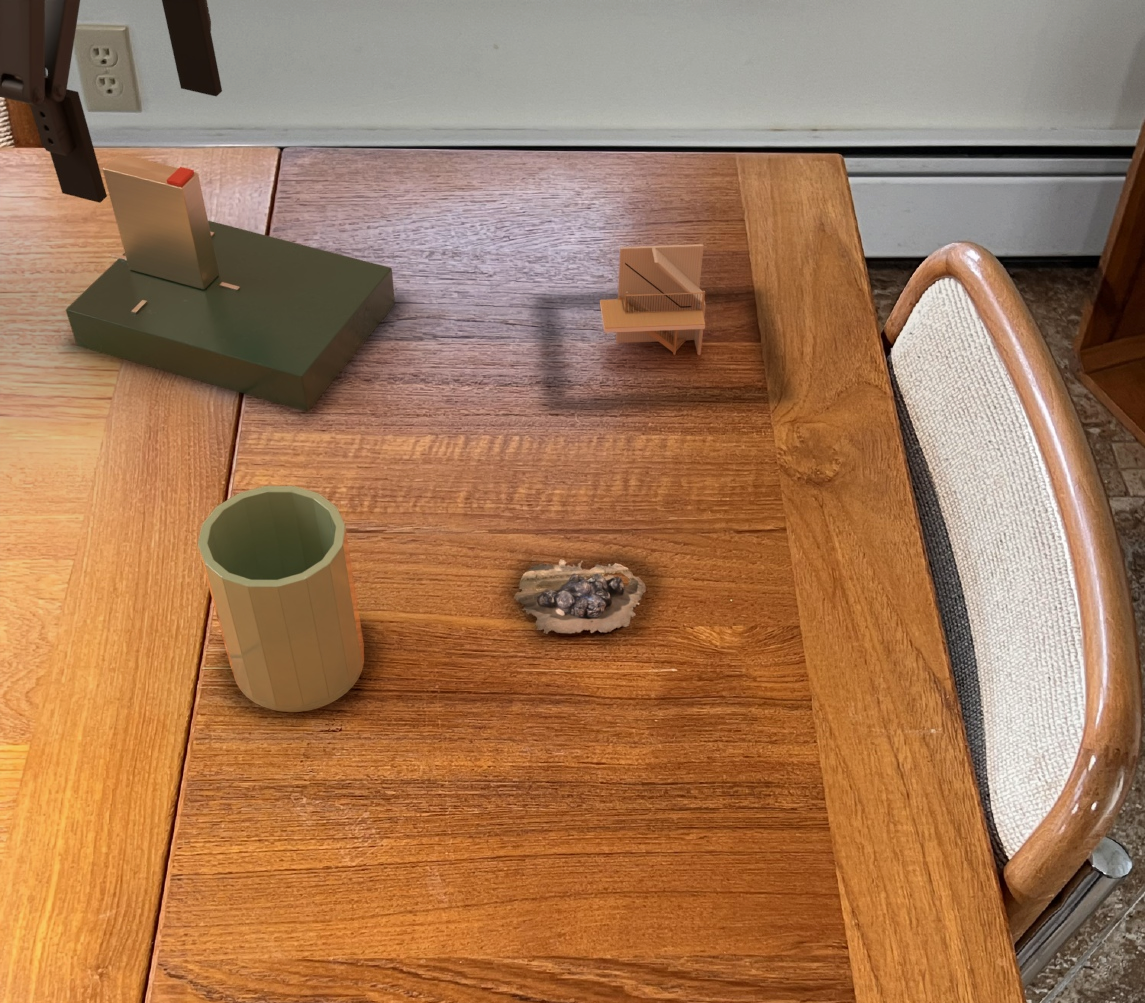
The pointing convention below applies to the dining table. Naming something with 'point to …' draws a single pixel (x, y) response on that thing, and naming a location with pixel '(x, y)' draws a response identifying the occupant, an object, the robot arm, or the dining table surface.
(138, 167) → the gold upright block
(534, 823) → the dining table surface
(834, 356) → the dining table surface
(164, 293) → the green base plate
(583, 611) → the blueberries
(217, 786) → the dining table surface
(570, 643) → the dining table surface
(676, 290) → the architectural model
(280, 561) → the cup
